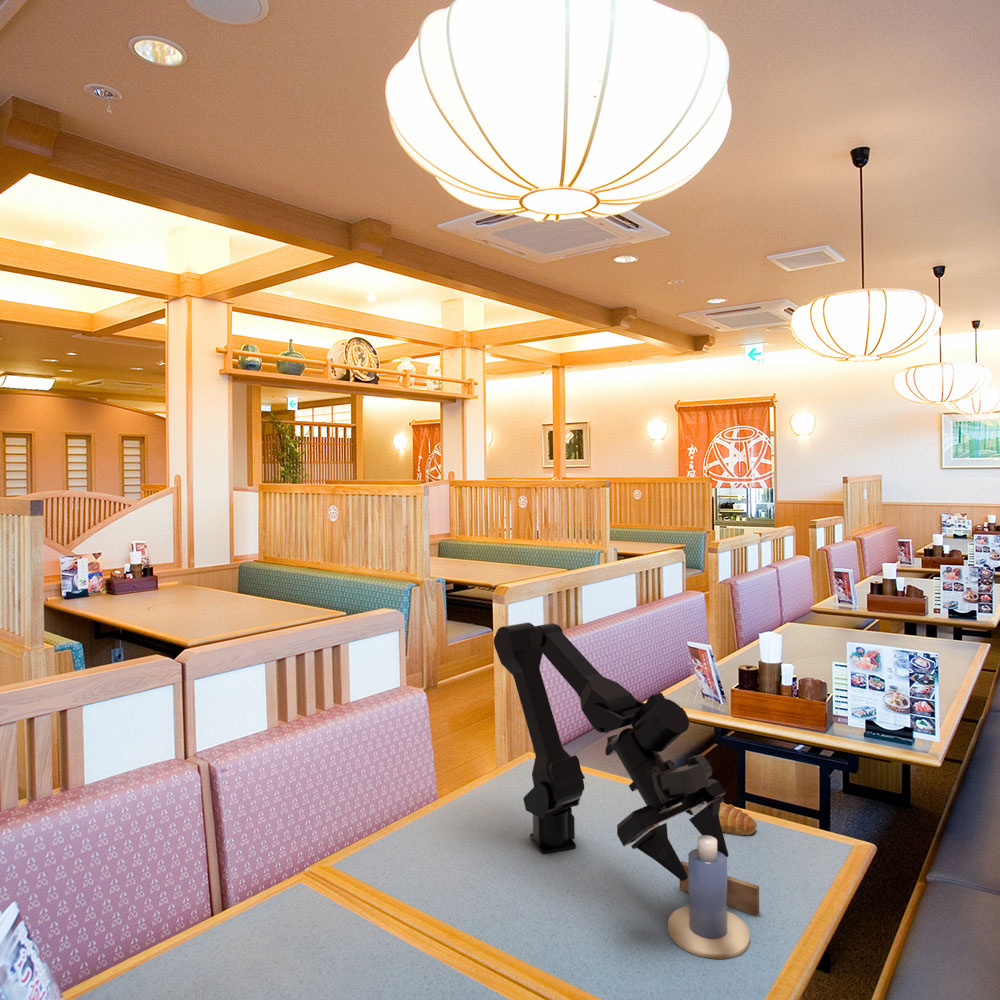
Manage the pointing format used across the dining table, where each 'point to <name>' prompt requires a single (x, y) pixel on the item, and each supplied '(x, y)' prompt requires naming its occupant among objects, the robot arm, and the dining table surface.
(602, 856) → the dining table surface
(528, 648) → the robot arm
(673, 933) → the disc
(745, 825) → the pastry
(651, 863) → the dining table surface
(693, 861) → the soy bottle
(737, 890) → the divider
